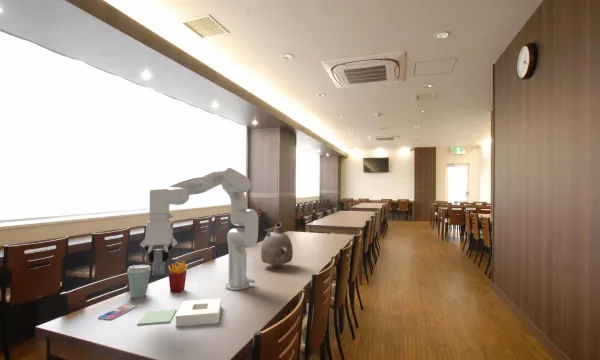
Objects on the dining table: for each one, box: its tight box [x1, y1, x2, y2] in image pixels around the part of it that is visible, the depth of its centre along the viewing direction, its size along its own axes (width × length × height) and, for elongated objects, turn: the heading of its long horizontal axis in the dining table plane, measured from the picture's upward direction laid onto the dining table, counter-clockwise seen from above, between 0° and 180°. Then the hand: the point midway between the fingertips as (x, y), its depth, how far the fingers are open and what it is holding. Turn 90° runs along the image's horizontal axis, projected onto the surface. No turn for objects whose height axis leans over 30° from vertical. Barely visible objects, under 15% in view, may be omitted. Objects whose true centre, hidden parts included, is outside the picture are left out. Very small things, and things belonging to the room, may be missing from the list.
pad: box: [136, 309, 177, 326], centre depth 124 cm, size 12×12×1 cm
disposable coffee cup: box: [126, 264, 152, 299], centre depth 150 cm, size 11×11×15 cm
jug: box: [260, 222, 294, 268], centre depth 204 cm, size 24×21×30 cm
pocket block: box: [175, 297, 222, 327], centre depth 126 cm, size 16×16×4 cm
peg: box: [151, 248, 166, 277], centre depth 125 cm, size 5×5×10 cm
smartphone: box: [97, 303, 138, 321], centre depth 129 cm, size 7×1×15 cm
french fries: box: [167, 260, 189, 294], centre depth 158 cm, size 9×8×15 cm
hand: (158, 261), depth 125 cm, fingers closed on peg, 4 cm apart
